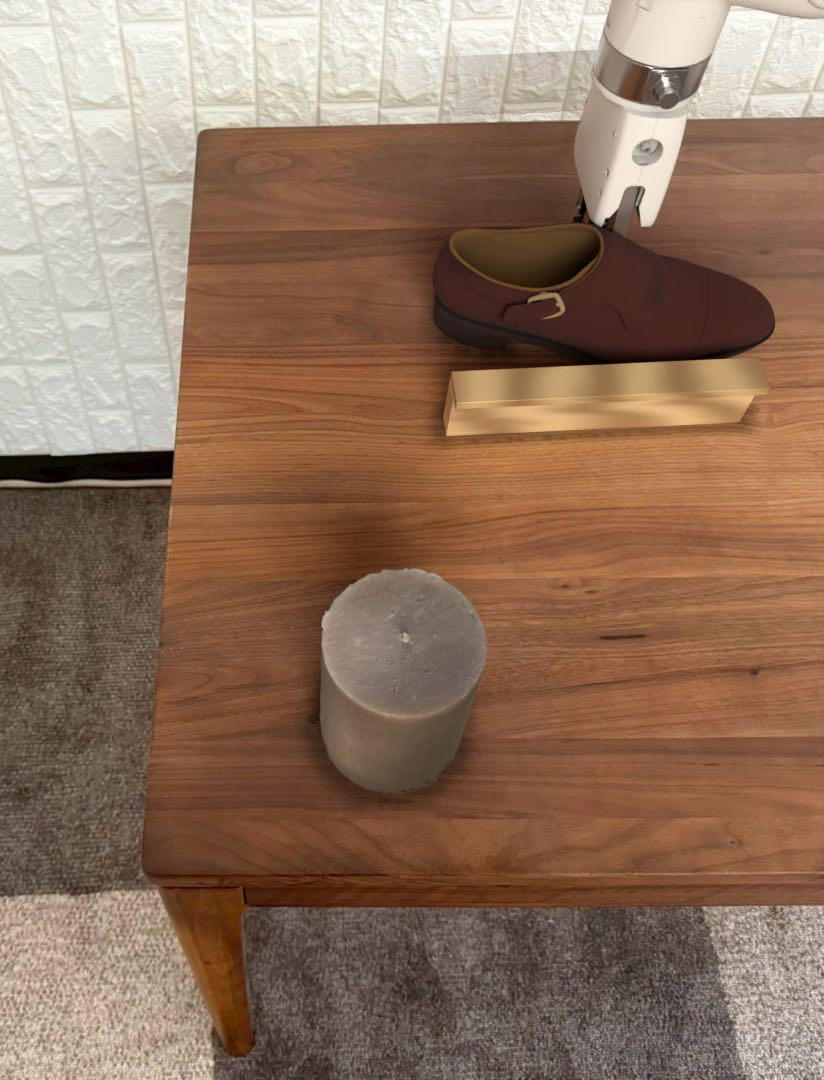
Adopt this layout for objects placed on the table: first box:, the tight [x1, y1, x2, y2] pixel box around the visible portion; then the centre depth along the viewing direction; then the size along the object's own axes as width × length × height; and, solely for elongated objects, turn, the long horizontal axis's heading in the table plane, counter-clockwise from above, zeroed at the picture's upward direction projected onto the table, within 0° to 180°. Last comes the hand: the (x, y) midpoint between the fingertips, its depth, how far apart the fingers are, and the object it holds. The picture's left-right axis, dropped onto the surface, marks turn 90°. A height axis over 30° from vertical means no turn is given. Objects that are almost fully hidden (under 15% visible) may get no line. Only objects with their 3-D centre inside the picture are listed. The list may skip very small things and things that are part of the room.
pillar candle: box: [319, 567, 488, 795], centre depth 63 cm, size 10×10×15 cm
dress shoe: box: [432, 221, 776, 365], centre depth 81 cm, size 9×28×12 cm, turn 82°
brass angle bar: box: [442, 356, 771, 437], centre depth 80 cm, size 24×3×6 cm, turn 92°
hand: (582, 259), depth 86 cm, fingers closed
